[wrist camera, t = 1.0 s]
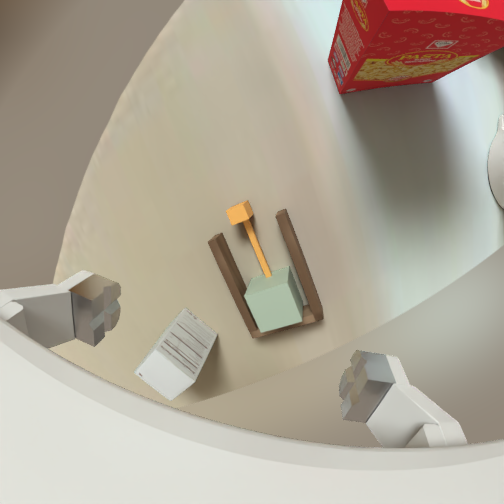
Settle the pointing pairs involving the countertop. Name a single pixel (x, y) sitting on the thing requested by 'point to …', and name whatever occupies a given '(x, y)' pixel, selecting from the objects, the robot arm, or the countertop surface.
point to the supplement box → (177, 355)
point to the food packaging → (411, 40)
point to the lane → (239, 289)
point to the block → (268, 284)
